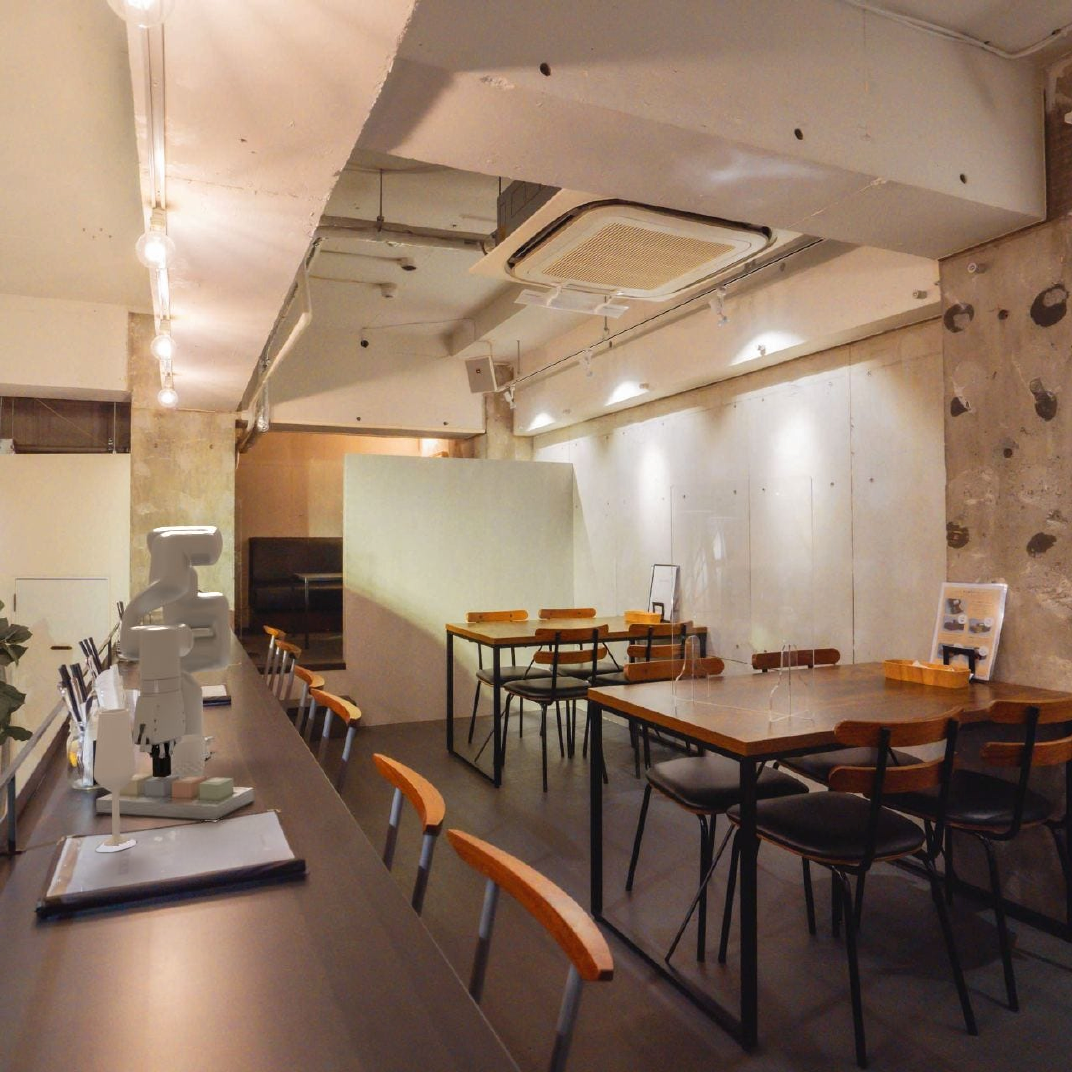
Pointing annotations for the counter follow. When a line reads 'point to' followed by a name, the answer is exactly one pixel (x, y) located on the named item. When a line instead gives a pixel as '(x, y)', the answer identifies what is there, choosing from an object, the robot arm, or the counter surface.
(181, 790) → the key
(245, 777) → the counter surface
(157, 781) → the key
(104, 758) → the champagne flute
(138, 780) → the key
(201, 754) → the white cup
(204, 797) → the key
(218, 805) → the keyguard pad
